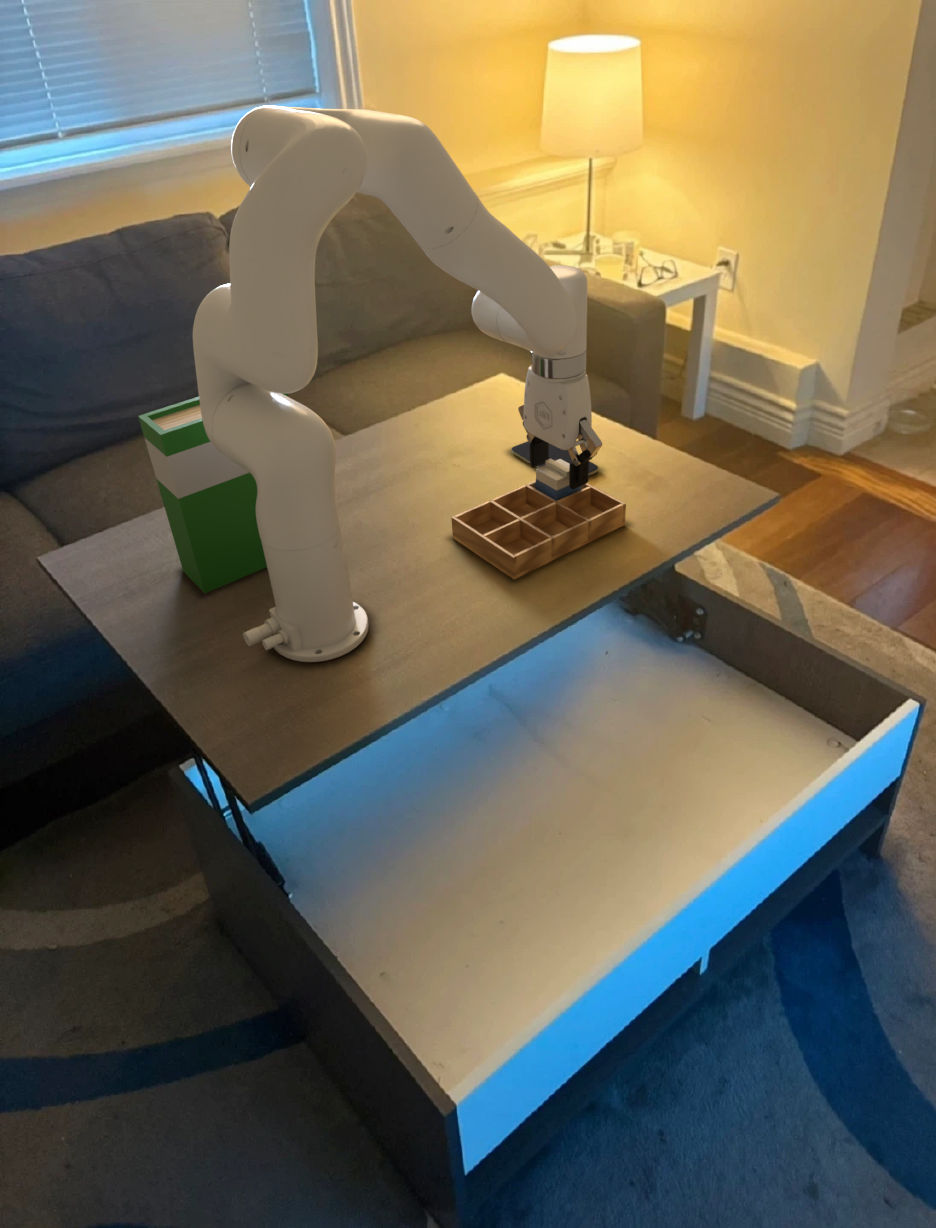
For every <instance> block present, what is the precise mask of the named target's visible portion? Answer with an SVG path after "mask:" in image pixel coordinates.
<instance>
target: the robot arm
mask: <svg viewBox="0 0 936 1228" xmlns="http://www.w3.org/2000/svg"><path fill="white" fill-rule="evenodd" d="M230 144H231V146H230V152H231V158H232V161H233V165H234V167H235V170H236V171H237V173H238V175H239V176H240V178H241V180H243V182H244V183H245V184H246V185H248V186H249V187H250V188H249V190H248V191H247V192H246V194H245V196H244V197H243V199H242V201H241V203H240V204H239V206H238V210H237V211H236V213H235V215H234V218H233V221H232V225H231V229H230V234H229V235H230V236H229V243H228V245H229V248H228V253H229V254H228V256H229V258H228V259H229V283H226V284H222V285H219V286H217V287H215V288H214V289H212V290H211V291H209V292H208V293H207V295H205V297H203V299H202V300H201V302H200V303H199V306H198V308H197V310H196V313H195V316H194V321H193V325H192V347H193V357H194V365H195V375H196V383H197V391H198V397H199V400H200V408H201V415H202V421H203V425H204V428H205V432H206V434H207V436H208V438H209V440H210V442H211V443H212V444H213V446H214V447H215V448H216V449H217V450H218V451H219V452H221V453H222V454H223V455H225V456H226V457H228V458H229V459H231V460H232V461H234V462H235V463H237V464H238V465H240V466H241V467H242V468H243V469H245V470H246V471H248V472H249V473H251V474H252V476H253V477H254V479H255V481H256V484H257V499H256V520H257V526H258V530H259V535H260V538H261V542H262V546H263V551H264V555H265V560H266V564H267V567H266V568H267V572H268V573H267V574H268V577H269V581H270V587H271V590H272V596H273V599H274V604H275V606H274V607H272V608H269V609H268V611H269V616H270V618H267V619H265V620H264V623H263V624H261V625H259V626H255V627H253V628H251V629H249V630H247V631H244V632H242V637H243V640H244V642H245V643H246V645H247V646H248V647H250V648H251V647H252V646H255V645H257V644H259V643H261V644H262V647H263V648H264V650H266V651H269V650H271V649H274V650H275V651H276V652H277V654H279V655H280V656H282V657H284V658H285V659H289V660H291V661H295V662H302V663H318V662H319V663H320V662H326V661H329V660H330V661H331V660H334V659H337V658H340V657H342V656H344V655H347V654H348V653H350V652H351V651H353V650H354V649H356V648H357V647H358V646H359V645H360V644H361V643H362V642H363V641H364V639H365V638H366V637H367V634H368V632H369V627H370V626H369V623H370V622H369V617H368V614H367V612H366V610H365V609H364V608H363V607H362V606H361V605H360V604H358V603H357V602H355V601H353V594H352V589H351V582H350V576H349V569H348V565H347V563H348V562H347V559H346V553H345V552H346V551H345V545H344V539H343V532H342V528H341V527H342V526H341V522H340V517H339V510H338V503H337V495H336V462H337V450H336V442H335V439H334V436H333V433H332V431H331V429H330V428H329V426H328V425H327V424H326V422H325V421H324V420H323V418H322V417H320V416H319V414H317V413H316V412H315V411H313V410H312V409H311V408H309V407H308V406H306V405H304V404H302V403H301V402H299V401H297V400H295V399H293V398H291V397H289V396H288V397H287V396H285V395H283V394H281V393H288V394H294V393H296V392H299V391H301V390H302V389H304V388H306V386H308V385H309V384H310V382H311V381H312V379H313V377H314V375H315V374H316V370H317V367H318V358H319V357H318V356H319V343H318V342H319V338H318V323H317V322H318V319H317V303H316V302H317V301H316V299H317V298H316V257H317V252H318V251H317V250H318V248H319V243H320V241H321V238H322V236H323V234H324V232H325V231H326V228H327V227H328V225H329V224H330V223H331V222H332V220H333V218H335V217H336V216H337V214H338V213H339V212H340V211H341V210H342V209H343V208H344V207H345V206H346V205H347V204H348V203H350V201H351V200H352V199H353V198H354V197H355V196H356V194H357V193H358V194H362V195H366V196H369V197H374V198H377V199H379V200H380V201H382V202H383V203H384V204H385V206H387V208H388V209H389V210H390V211H391V213H392V214H393V216H395V218H396V219H398V221H399V222H400V224H402V226H403V227H404V229H406V231H407V233H408V234H409V235H410V236H411V237H412V238H413V240H414V241H415V243H416V244H417V245H418V246H419V248H420V250H422V252H423V253H424V254H425V255H426V256H427V258H428V259H429V260H430V261H431V262H432V263H433V264H434V265H435V266H436V267H438V268H439V269H441V270H442V271H443V272H445V273H446V274H448V275H449V276H451V277H452V278H454V279H455V280H457V281H459V282H461V283H463V284H465V285H468V286H469V287H471V288H473V289H474V290H477V291H476V294H475V296H474V297H473V300H472V303H471V317H472V321H473V323H474V324H475V326H476V327H477V328H478V330H480V331H481V332H482V333H483V334H484V335H486V336H488V337H491V338H493V339H495V340H499V341H502V342H504V343H507V344H510V345H513V346H517V347H519V348H521V349H524V350H527V351H529V352H530V365H529V366H528V369H527V373H526V376H525V377H526V378H525V384H524V394H523V404H522V405H520V406H518V409H517V410H518V414H519V416H520V418H521V420H522V426H523V428H524V430H525V432H526V440H527V441H529V442H531V443H530V463H529V466H530V467H531V468H532V469H534V468H536V467H537V466H539V465H542V464H544V463H546V460H548V459H549V444H551V445H553V446H555V447H558V448H560V449H562V450H568V452H569V454H570V457H571V459H572V462H573V463H571V464H570V465H569V486H570V488H571V489H575V488H578V487H580V486H582V485H584V484H586V483H588V484H589V476H590V475H589V461H591V460H593V458H594V457H596V456H597V455H598V452H599V451H600V449H601V448H602V447H603V442H602V439H600V437H599V436H598V434H597V432H595V430H594V429H593V427H592V425H593V424H592V422H593V421H592V420H593V419H592V417H593V415H592V399H591V398H592V397H591V390H590V389H591V388H590V381H589V376H588V374H587V343H588V341H587V339H588V338H587V337H588V336H587V335H588V334H587V333H588V332H587V331H588V329H587V328H588V278H587V275H586V273H585V272H584V271H583V269H580V268H579V267H576V266H573V265H563V264H559V265H558V264H556V265H549V264H548V263H547V262H546V261H545V260H544V259H543V258H542V257H541V256H540V255H539V254H538V253H537V252H536V251H535V250H533V249H532V248H531V247H530V246H529V245H527V243H525V242H524V241H523V240H522V239H521V238H519V236H517V235H516V234H515V233H514V232H513V231H512V230H511V229H510V228H508V226H506V225H505V224H504V223H502V222H501V221H500V220H499V219H498V218H496V216H494V215H493V214H491V212H490V211H489V209H487V207H486V206H485V205H484V204H483V201H482V200H481V199H480V197H479V196H478V194H477V193H476V192H475V190H474V188H472V186H471V185H470V183H469V181H468V180H467V179H466V177H465V176H464V174H463V173H462V172H461V170H460V168H459V167H458V166H457V164H456V162H455V161H454V159H453V158H452V156H451V155H450V154H449V152H448V151H447V149H446V148H445V147H444V144H442V142H441V140H440V139H439V138H438V136H437V135H436V134H435V132H433V130H432V129H431V128H430V127H429V126H428V125H427V124H426V123H424V122H423V121H422V120H419V119H418V118H415V117H413V116H409V115H404V114H403V115H402V114H397V113H391V112H386V111H385V112H384V111H378V110H372V109H364V108H363V109H359V108H358V109H357V108H320V107H319V108H317V107H304V106H303V107H301V106H299V107H298V106H283V105H262V106H259V107H255V108H253V109H251V110H250V111H248V112H247V113H246V114H245V115H243V117H241V118H240V120H239V121H238V123H237V124H236V126H235V129H234V131H233V133H232V138H231V143H230ZM578 446H579V447H580V450H581V452H580V453H578V450H577V448H576V447H578ZM588 475H589V476H588Z"/></svg>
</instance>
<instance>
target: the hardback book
mask: <svg viewBox="0 0 936 1228" xmlns="http://www.w3.org/2000/svg"><path fill="white" fill-rule="evenodd" d="M281 394H283V395H285V396H287V397H289V393H281ZM137 417H138V420H139V424H140V427H141V432H142V434H143V438H144V442H145V445H146V448H147V452H148V455H149V458H150V462H151V465H152V469H153V472H154V476H155V479H156V482H157V485H158V490H159V493H160V497H161V500H162V503H163V507H164V510H165V513H166V517H167V521H168V524H169V527H170V531H171V533H172V537H173V541H174V545H175V547H176V548H175V549H176V551H177V554H178V555H177V556H178V558H179V561H180V565H181V569H182V571H183V573H184V574H185V575H186V576H187V577H188V578H189V579H190V580H191V581H192V582H193V583H194V584H195V585H196V586H197V588H199V589H200V590H201V591H202V592H203V593H204V594H207V593H209V592H213V591H214V590H217V589H219V588H222V587H223V586H226V585H229V584H231V583H233V582H236V581H238V580H240V579H242V578H245V577H248V576H249V575H252V574H254V573H257V572H260V571H261V570H264V569H266V568H267V564H266V560H265V555H264V551H263V546H262V542H261V538H260V535H259V530H258V526H257V520H256V499H257V484H256V481H255V479H254V477H253V476H252V474H251V473H249V472H248V471H246V470H245V469H243V468H242V467H241V466H240V465H238V464H237V463H235V462H234V461H232V460H231V459H229V458H228V457H226V456H225V455H223V454H222V453H221V452H219V451H218V450H217V449H216V448H215V447H214V446H213V444H212V443H211V442H210V440H209V438H208V436H207V434H206V432H205V428H204V425H203V421H202V415H201V408H200V400H199V396H196V397H193V398H190V399H186V400H183V401H181V402H177V403H174V404H171V405H168V406H165V407H162V408H159V409H155V410H152V411H149V412H146V413H142V414H140V415H137Z"/></svg>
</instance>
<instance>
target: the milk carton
mask: <svg viewBox="0 0 936 1228" xmlns="http://www.w3.org/2000/svg"><path fill="white" fill-rule="evenodd" d="M569 465H570V464H569V463H567V462H565V461H563V460H562V459H558V460H556V461H554V460H552V459H548V460H546V465H544V466H542V467H540V468H536V469H535V480H536V490H538V491H540V492H542V493H543V494H545V495H547V496H549V497H550V498H552V499H554V500H556V501H558V500H560V499H562V498H565V497H567V496H569V495H571V494H573V493H576V492H578V491H580V490H581V488H582V486H580V487H578V488H575V489H571V488H570V486H569Z"/></svg>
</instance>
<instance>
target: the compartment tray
mask: <svg viewBox="0 0 936 1228" xmlns="http://www.w3.org/2000/svg"><path fill="white" fill-rule="evenodd" d="M626 512H627V503H625V502H624V501H622V500H620V499H618V498H616V497H615V496H612V495H611V494H609V493H607V492H606V491H603V490H601V489H599V488H598V487H596V486H594V485H591V484H589V482H588V483H586V484H584V485H582V488H581V490H580V491H578V492H576V493H573V494H571V495H569V496H567V497H565V498H562V499H560V500H558V501H556V500H554V499H552V498H550V497H549V496H547V495H545V494H543V493H542V492H540V491H538V490H536V479H535V480H532V481H531V482H530V481H529V482H528V483H526V484H524V485H521V486H518V487H517V488H514V489H512V490H510V491H508V492H505V493H503V494H500V495H498V496H497V497H494V498H492V499H490V500H488V501H485V502H483V503H481V504H478V505H476V506H474V507H471V508H469V509H466V510H464V511H462V512H460V513H458V514H456V515H453V516H451V518H450V519H451V528H452V531H451V532H452V539H453V540H455V541H457V542H458V543H459V544H461V545H462V546H464V547H465V548H467V549H468V550H470V551H471V552H473V553H474V554H475V555H477V556H478V557H480V558H481V559H483V561H486V562H487V563H488V564H490V565H492V566H493V567H494V568H496V569H498V570H499V571H500V572H501V573H503V574H505V575H506V576H508V577H509V578H511V579H512V580H515V581H516V579H519V578H520V577H523V576H524V575H527V574H528V573H531V572H533V571H535V570H537V569H539V568H541V567H543V566H545V565H547V564H549V563H551V562H553V561H555V560H557V559H559V558H561V557H563V556H565V555H567V554H569V553H571V552H573V551H575V550H577V549H579V548H581V547H584V546H585V545H587V544H590V543H592V542H594V541H595V540H597V539H600V538H602V537H603V536H606V535H607V534H609V533H612V532H614V531H616V530H618V529H619V528H621V527H624V526H625V525H626V516H627V515H626V514H627V513H626Z"/></svg>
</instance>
